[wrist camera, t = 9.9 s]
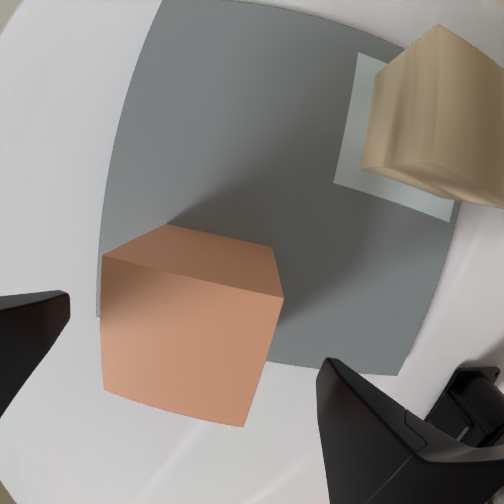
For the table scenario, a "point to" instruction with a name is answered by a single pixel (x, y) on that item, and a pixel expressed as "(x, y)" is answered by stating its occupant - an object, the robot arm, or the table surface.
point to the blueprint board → (279, 173)
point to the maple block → (439, 121)
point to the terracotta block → (188, 321)
